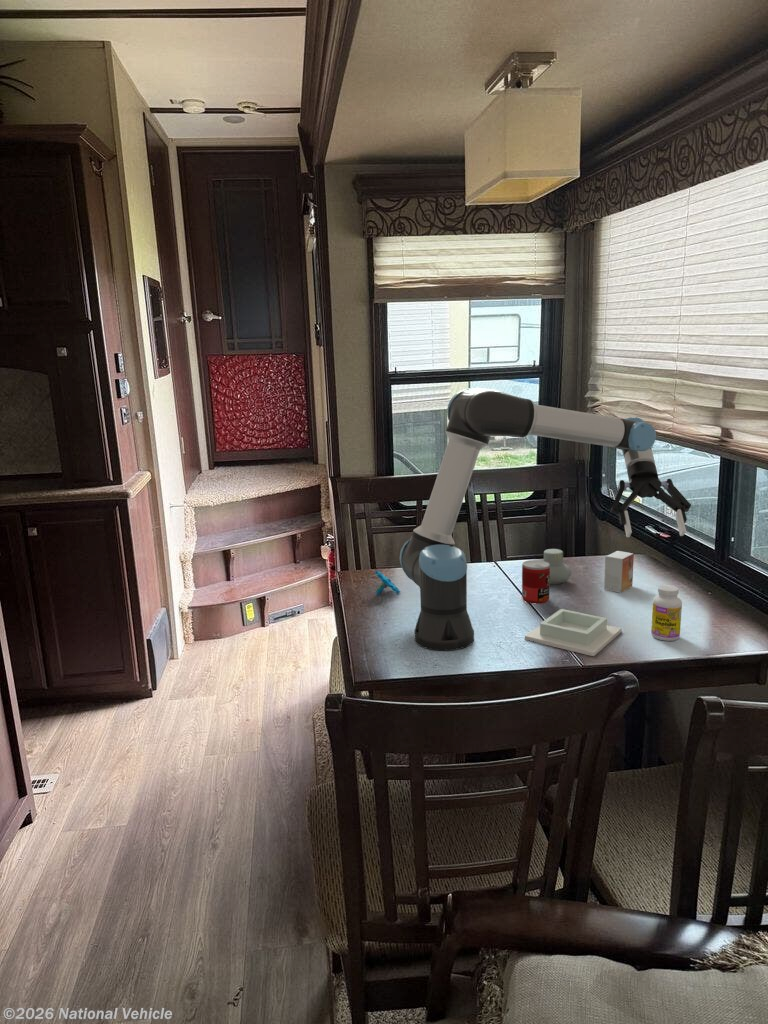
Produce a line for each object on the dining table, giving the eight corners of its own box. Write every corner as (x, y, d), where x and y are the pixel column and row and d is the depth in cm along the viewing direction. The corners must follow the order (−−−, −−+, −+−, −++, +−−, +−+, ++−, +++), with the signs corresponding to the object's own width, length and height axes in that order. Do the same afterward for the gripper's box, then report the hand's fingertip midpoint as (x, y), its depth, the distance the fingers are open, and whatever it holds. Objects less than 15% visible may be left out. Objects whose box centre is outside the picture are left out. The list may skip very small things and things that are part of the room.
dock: (593, 656, 162) (594, 640, 162) (524, 639, 173) (524, 624, 173) (621, 631, 176) (622, 617, 175) (555, 617, 187) (556, 603, 186)
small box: (621, 593, 204) (622, 559, 202) (603, 589, 208) (604, 555, 206) (633, 586, 210) (634, 553, 208) (615, 582, 214) (616, 550, 211)
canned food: (542, 606, 196) (543, 569, 194) (517, 601, 201) (517, 565, 199) (553, 598, 202) (554, 562, 200) (528, 593, 207) (529, 558, 204)
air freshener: (531, 579, 220) (531, 549, 218) (551, 574, 224) (551, 545, 221) (554, 588, 210) (555, 557, 208) (575, 583, 214) (575, 552, 212)
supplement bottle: (649, 639, 171) (651, 590, 168) (652, 630, 177) (655, 582, 174) (678, 643, 168) (681, 593, 165) (681, 633, 173) (684, 585, 171)
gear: (403, 593, 206) (378, 571, 205) (389, 608, 206) (365, 586, 205) (400, 586, 217) (377, 565, 216) (387, 600, 217) (364, 579, 216)
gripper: (683, 473, 191) (701, 540, 180) (592, 476, 193) (604, 542, 182) (691, 457, 185) (710, 525, 173) (597, 460, 187) (609, 527, 175)
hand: (656, 534), depth 177 cm, fingers open, 13 cm apart
